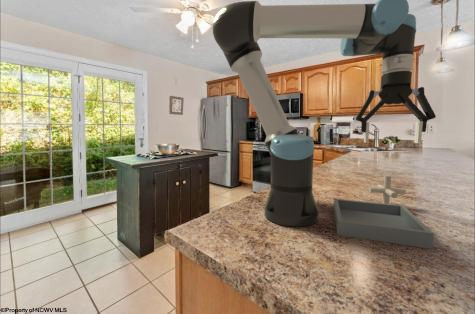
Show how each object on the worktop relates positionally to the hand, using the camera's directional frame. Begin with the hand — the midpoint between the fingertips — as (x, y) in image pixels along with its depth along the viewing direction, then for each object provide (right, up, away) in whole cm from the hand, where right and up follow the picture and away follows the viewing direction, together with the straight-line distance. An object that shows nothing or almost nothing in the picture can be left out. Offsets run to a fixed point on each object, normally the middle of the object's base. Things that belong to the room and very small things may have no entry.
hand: (390, 143), depth 68 cm
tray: (-13, -22, -12) cm, 28 cm away
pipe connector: (0, -21, +3) cm, 21 cm away
